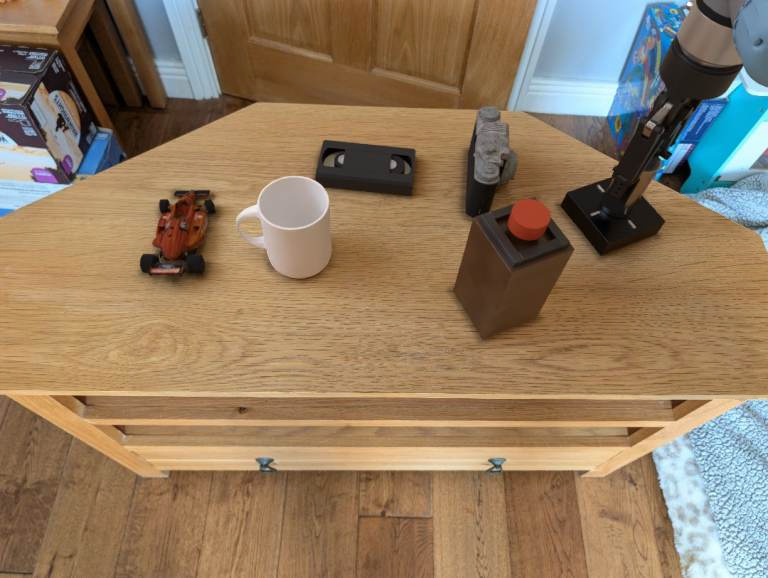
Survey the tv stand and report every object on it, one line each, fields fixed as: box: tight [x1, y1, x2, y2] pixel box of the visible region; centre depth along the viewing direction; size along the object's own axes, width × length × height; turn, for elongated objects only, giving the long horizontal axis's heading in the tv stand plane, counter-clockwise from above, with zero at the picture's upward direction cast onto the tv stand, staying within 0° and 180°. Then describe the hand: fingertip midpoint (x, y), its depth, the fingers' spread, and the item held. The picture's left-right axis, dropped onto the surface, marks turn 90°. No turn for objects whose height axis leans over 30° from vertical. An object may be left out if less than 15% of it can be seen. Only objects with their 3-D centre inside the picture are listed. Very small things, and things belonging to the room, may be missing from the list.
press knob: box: [508, 198, 552, 240], centre depth 58 cm, size 4×4×2 cm
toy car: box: [139, 189, 217, 277], centre depth 75 cm, size 8×16×4 cm, turn 0°
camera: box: [464, 105, 519, 219], centre depth 80 cm, size 15×7×10 cm, turn 173°
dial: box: [601, 154, 662, 218], centre depth 75 cm, size 4×4×9 cm
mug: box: [235, 175, 333, 279], centre depth 71 cm, size 9×12×11 cm
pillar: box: [452, 196, 575, 341], centre depth 66 cm, size 8×8×16 cm
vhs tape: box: [314, 139, 417, 197], centre depth 84 cm, size 14×8×2 cm, turn 85°
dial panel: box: [560, 176, 667, 257], centre depth 80 cm, size 10×10×3 cm
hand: (620, 198), depth 78 cm, fingers closed on dial, 4 cm apart
